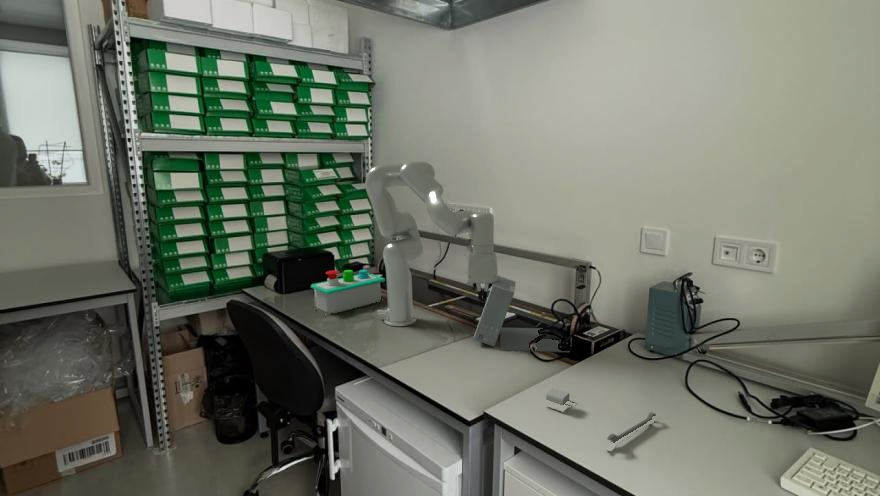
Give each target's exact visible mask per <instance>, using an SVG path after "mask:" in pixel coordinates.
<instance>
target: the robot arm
mask: <svg viewBox="0 0 880 496" xmlns="http://www.w3.org/2000/svg"><path fill="white" fill-rule="evenodd" d="M435 176H436V175H435V169H434V167H433V166H432V164H431V163H430V162H427V161H410V162H409V161H408V162H406V163H399V164H398V163H394V164H378V165H375V166H374V167H372V168H371V169H370V170H369V171H368V172H367V175H366V177H365V183H364V186H365V191H366V193H367V196H368V198H369V201H370V203H371V207H372V210H373V213H374V217H375V220H376V224H377V227H378V230H379V233H380V234H381V235H382V237H384V238H386V239H391V238H392V239H394V238H396V237H397V238H398V239H397V240H393V241H390V242H389V243H388V244H387V245H385V247H384V248H383V251H382V257H383V258H382V259H383V264H384V266H385V276H386V277H385V280H386V294H387V295H386V297H387V300H386V301H387V309H385V310H383V309H377V310H376V314H377V316H378V317H383V320H384V324H386V325H388V326H391V327H405V326H410V325H413V324H415V323H416V322H417V320H418V318H417V315H415V314H413V311H414V310H413V285H412V284H413V283H412V273H411V270H410V268H409V264H410V263H412V262H415V261H417V260H419V259H420V258H422V255H423V251H424V246H423V242H422V238H421V235H420V232H419V228H418V225H417V222H416V220H415V218H414V216H413V214H411V213H410V212H408V211H406V210H398V209H397V205H396V203H395V199H394V197H393V196H392V194H391V193H390V192H389V190H388V189H389V188H397V187H408V188H409V189H410V190H411V191H412V192H413V193H414V194H415V195H416V196H417V197H418V199H420V200H421V201H422V202H423V203H424V204H425V207H426V210H427V213H428V216H429V217H430V219H431V220H432V221H433V222H434V223H435V224H436V226H438V227H439V228H440V229H441V230H442V231H443V232H445V234H448V235H450V236H458V235H461V234H465V233H469V232H470V245H466V250H467V251H470V252H469V253H468V256H467V257H468V258H467V267H466V268H467V270H466V275H467V276H466V277H467V278H466V279H467V281H466V285H467V286H471V287H474V289H475V290H476V291H477V296H478V297H477V300H478V301H479V300H480V302H479V303H481V304H482V303H485V304H486V301H487V299H488V290H491V287H492V285H493V283H494V282H497V281H498V280H497V279H498V276H499V275H498V274H499V272H498V258H497V253H496V252H494V249H495V248H494V244H495V243H494V240H495V237H494V236H495V235H494V230H495V229H494V225H495V224H494V222H495V221H494V220H495V219H494V217H495V216H494V214H493V213H492V212H487V211H480V212H479V211H478V212H477V211H472V210H465V209H464V210H461V211H460V210H459V211H455V212H454V211H453V210H452V209H451V208H450V207H448V206H447V204H446V203H445V202H444V201H443V199H442V196H443V193H444V187H443V185H442V184H441V183H440V182H438V180H436V178H435ZM481 284H484V287H483V288H482V286H481Z"/></svg>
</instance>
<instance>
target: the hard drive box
mask: <svg viewBox="0 0 880 496" xmlns="http://www.w3.org/2000/svg"><path fill="white" fill-rule="evenodd" d="M497 280H498V281H497V282H494V283H493V285H492V287H491V288H490V289H489V290H490V291H489V294H488V295H487V300H485V304H484V307H483V309H482V313H481V316H480V317H481V318H480V321H479V323H477V327H476V330H475V331H474V335H473V338H472V339H473V340H475V341H477V342H479V343H483V344H486V345H488V346H491V347H495V346H496V343H497V341H498V338H499V337H500V330H501V328H503V325H504V323H505V322H504V319H505V317H506V314H507V311H508V312H509V308H510V305H511V303H512V301H513V298H514V295H515V291H516V290H515V289H516V284H517V282H516V281H514V280H512V279H509V278H506V277H503V276H500V275H498V279H497Z"/></svg>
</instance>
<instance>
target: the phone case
mask: <svg viewBox="0 0 880 496" xmlns="http://www.w3.org/2000/svg"><path fill="white" fill-rule="evenodd" d="M480 318H481V316H479V317H476V318H475V319H474V322H475V323H477V324H478V323H479V321H480ZM513 319H517V313H515V312H511V311H509V310H508V311H507V314H506V317H505V319H504V322H503V323H505V322H509V321H510V320H513Z"/></svg>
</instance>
